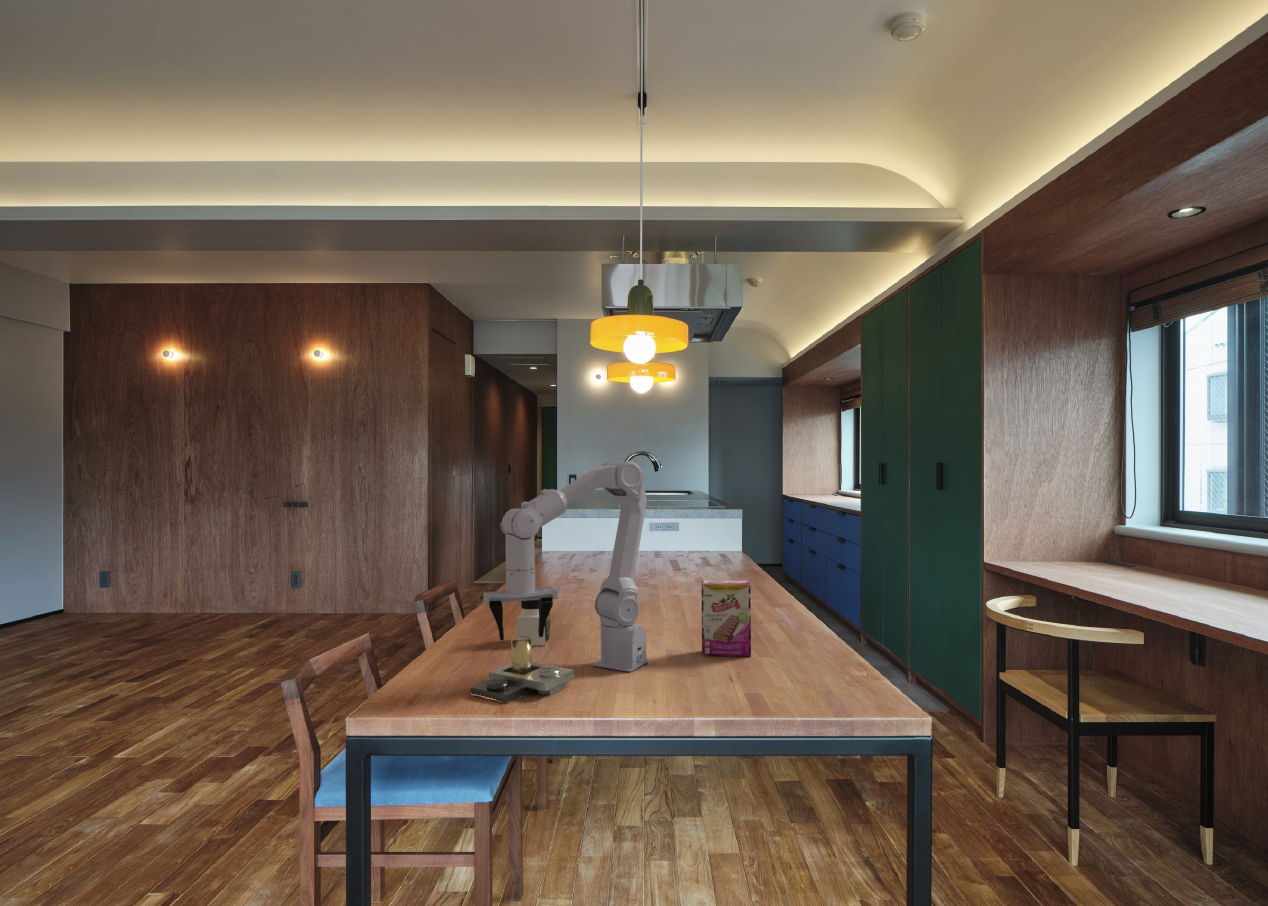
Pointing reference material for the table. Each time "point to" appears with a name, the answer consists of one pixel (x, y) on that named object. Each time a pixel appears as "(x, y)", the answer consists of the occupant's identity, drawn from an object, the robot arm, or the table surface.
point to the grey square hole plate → (536, 677)
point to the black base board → (500, 690)
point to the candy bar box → (726, 618)
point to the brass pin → (521, 655)
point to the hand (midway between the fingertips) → (521, 637)
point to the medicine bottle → (532, 623)
